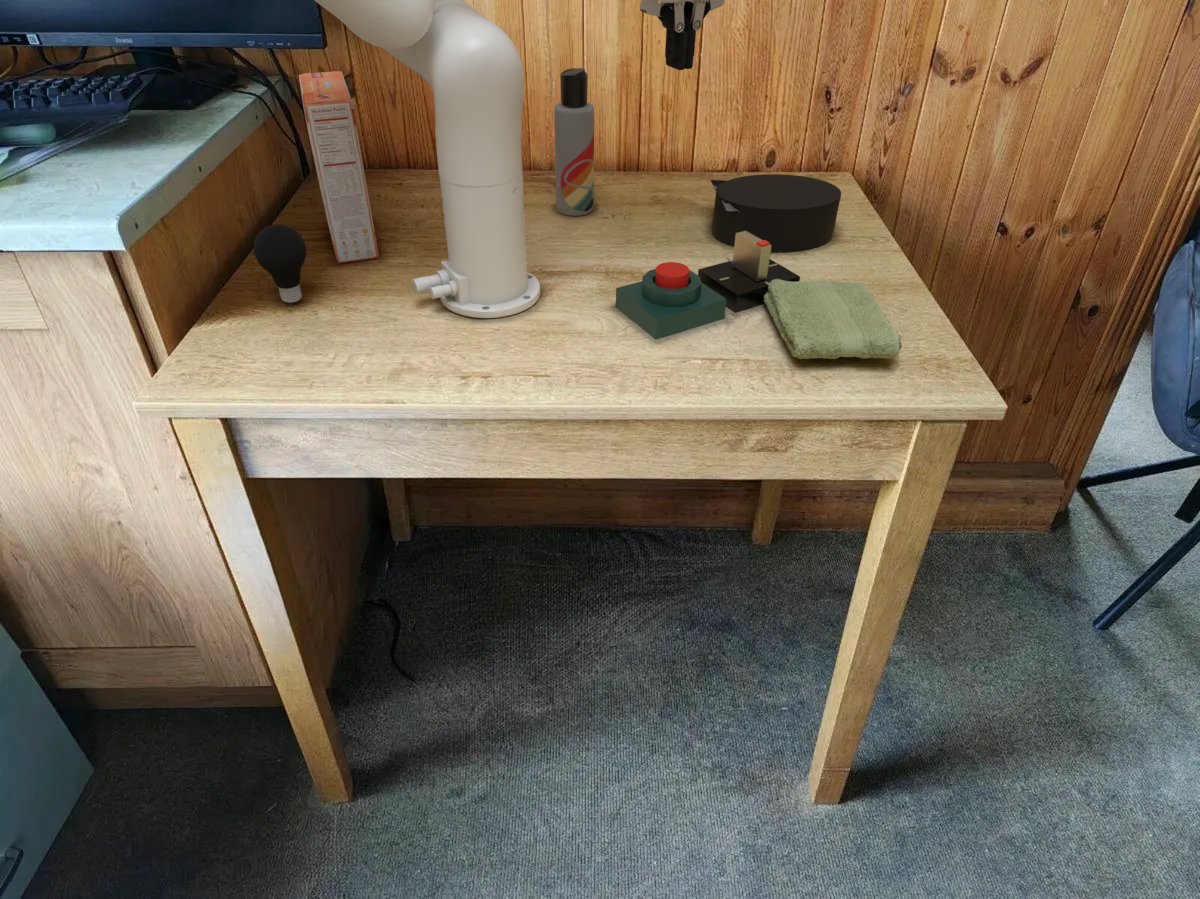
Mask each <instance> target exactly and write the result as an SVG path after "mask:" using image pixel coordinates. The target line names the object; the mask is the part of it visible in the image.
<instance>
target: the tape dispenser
mask: <svg viewBox="0 0 1200 899" xmlns="http://www.w3.org/2000/svg"><path fill="white" fill-rule="evenodd" d="M709 181H710V183H711V184H712V186H713V188H714V190H715V197H714V205H713V214H712V222H711V231H710V232H711V235H712V237H713V238H714V239H715V240H716V241H718V242H720V243H722V244H724V245H726V246H728V247H732V248H734V245H735V237H736V233H739V232H742V231H747V232H749V233H751V234H752V235H754V236H756V237H758V238H760V239H761V240H766V241H768V242H769V243H770V245H771V252H770V253H793V252H802V251H808V250H812V249H817V248H819V247H822V246H824V245H826V244H828V243H829V242H831V241H832V239H833V237H834V232H835V228H836V227H835V226H836V221H837V216H838V213H839V209H840V208H839V207H840V202H841V197H842V191H841V189H840V188H839V187H838V186H837V185H835V184H833V183H831V182H830V181H829V182H828V181H825V180H822V179H818V178H814V177H809V176H804V175H794V174H782V173H781V174H779V173H778V174H777V173H774V174H773V173H772V174H770V173H769V174H768V173H767V174H766V173H765V174H752V175H744V176H739V177H734V178H731V179H728V180H724V179H723V180H722V179H709Z"/></svg>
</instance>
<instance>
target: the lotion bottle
mask: <svg viewBox="0 0 1200 899" xmlns="http://www.w3.org/2000/svg"><path fill="white" fill-rule="evenodd" d="M588 77H589V75H588V73H587V72H586V69H585V68H582V67H576V68H575V67H574V68H573V67H572V68H568V69H565V70H563V71H562V72H561V73H560V75H559V78H560V79H559V80H560V82H559V83H560V102H559V103H556V104H555V105H554V109H553V110H554V111H553V116H554V117H553V118H554V119H553V121H554V160H555V161H554V163H555V166H554V167H555V203H556V204H555V205H556V210H557V211H558V213H560V214H562V215H565V216H570V217H580V216H585V215H588V214H591V213H592V212H593V211H594V207H595V206H594V204H595V106H594V105H593V104H592V103H590V102H588V84H589V83H588V81H589V80H588V79H589V78H588Z"/></svg>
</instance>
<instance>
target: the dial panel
mask: <svg viewBox="0 0 1200 899" xmlns="http://www.w3.org/2000/svg"><path fill="white" fill-rule="evenodd" d="M725 260H726V261H724V262H720V263H717V264H712V265H709V266H706V267H702V268H699V269H698V270H697V275H698V276H700V279H701V282H702V283H703V284H705V285H706V286H708V287H709V288H711V289H712V290H714V291H715V292H717V293H718V294H720V295H721V296H723V297H724V298H726V308H727V309H728V310H729V311H731V312H733V313H735V314H738V313H741V312H743V311H746V310H750V309H753V308H756V307H760V306H764V305H766V304H765V302H764V295H765V294H766V293H767V292H768V287H769V286H770V285H771V284H769V283H770V282H771V281H772V280H775V279H780V280H784V281H789V282H798V281H801V276H800V275H798V274H796V273H795V272H793V271H792V270H790V269H788V268H786V267H785V266H783V265H781V264H780V263H778V262H776V261H774V260H773V259H771V258H770V259H769V266H768V273H767V279H764V280H760V281H755V280H754V279H752V278H750V277H749V276H747V275H746V274H744V273H742V272H741V271H739V270H737V269H736V268H734V267H733V266H732V262H733V259H731V258H730V257H726V258H725Z"/></svg>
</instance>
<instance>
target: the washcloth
mask: <svg viewBox="0 0 1200 899" xmlns="http://www.w3.org/2000/svg"><path fill="white" fill-rule="evenodd" d="M769 284H771V285H770V286H769V287H768V292H767V293H766V294H765V295H764V302H765V304H764V305H765V306H766V308H767V310H768V312H769V315H770V317H772V320H773V322H774V325H775V326H776V328H777V330H778V332H779V333H780V336H781V339H782V340H783V341H784V343H785V344H786V347H787V349H788V350H789V351H790V354H791V356H792V357H793V358H796V359H799V360H802V359H803V360H809V359H828V360H837V359H839V358H840V357H842V358H845V357H846V358H853V357H856V358H857V359H862V360H863V359H866V360H867V359H886V360H887V359H888V360H890V359H891V358H896V357H898V356H899V354H900V350H901V349H902V348H903V344H902V342H901V334H900V333H899V332H898V330H896V328H895V327H894V325H893V324H892V323H891V322H890V320H888V319H887V316H886V315H885V313H884V311H883V310H882V309H881V307H880V306H879V304H878V303H877V302H876V299H875V297H874V295H873V293H872V291H871V290H870V289H869V288H868V287H867V286H866V285H865V284H863V283H861V282H860V283H859V282H856V281H835V280H826V279H817V278H813V279H812V278H807V279H802V280H800V281H798V282H789V281H784V280H780V279H775V280H772V281H771V282H770V283H769Z"/></svg>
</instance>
